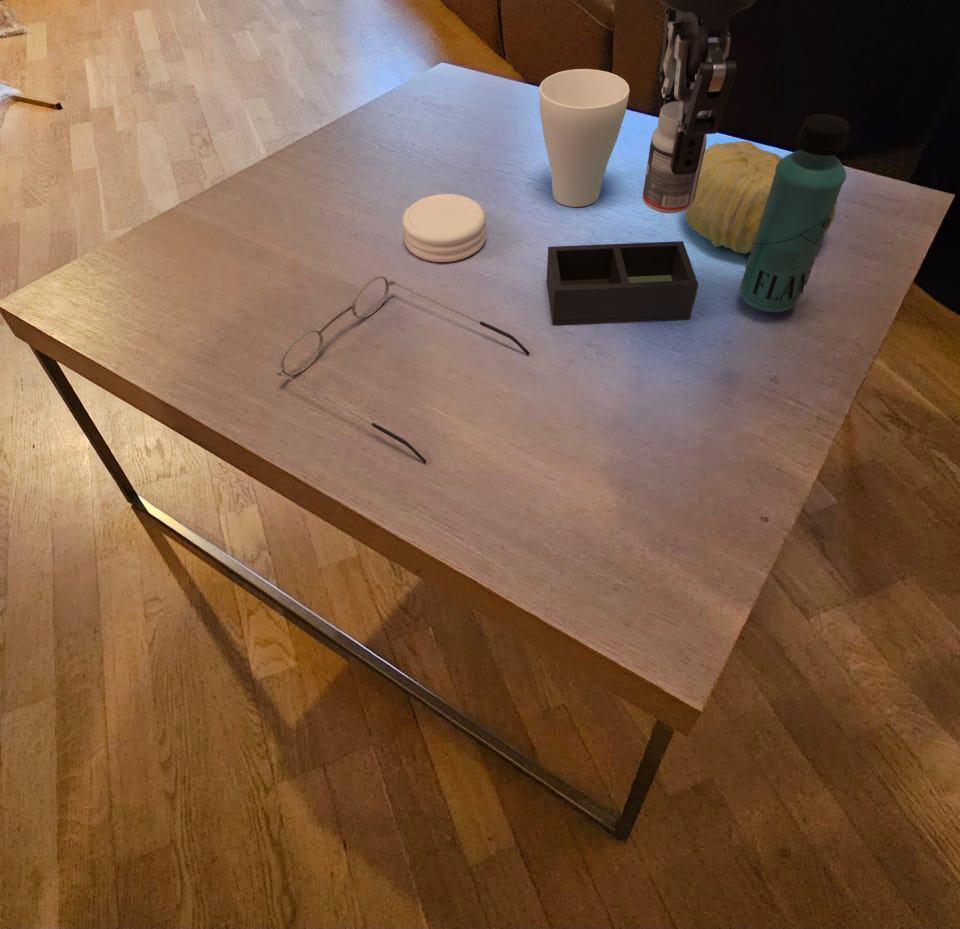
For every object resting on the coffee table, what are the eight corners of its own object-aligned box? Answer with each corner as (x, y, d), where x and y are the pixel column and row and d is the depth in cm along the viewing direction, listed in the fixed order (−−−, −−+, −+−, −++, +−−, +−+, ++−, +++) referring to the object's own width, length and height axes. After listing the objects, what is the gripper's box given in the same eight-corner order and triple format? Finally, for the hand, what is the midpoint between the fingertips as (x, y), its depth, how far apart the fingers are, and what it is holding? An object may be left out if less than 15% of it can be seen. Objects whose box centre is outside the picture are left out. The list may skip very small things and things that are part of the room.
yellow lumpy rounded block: (790, 299, 83) (845, 215, 88) (812, 228, 74) (872, 138, 78) (659, 251, 90) (716, 175, 94) (664, 180, 80) (727, 99, 85)
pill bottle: (658, 182, 70) (673, 92, 63) (702, 198, 68) (723, 107, 61) (632, 204, 67) (645, 113, 61) (677, 220, 65) (695, 128, 59)
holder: (546, 281, 83) (548, 246, 79) (675, 276, 83) (683, 240, 79) (552, 325, 78) (554, 290, 74) (690, 319, 78) (698, 284, 74)
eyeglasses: (390, 293, 82) (386, 263, 79) (530, 358, 75) (532, 328, 72) (277, 385, 73) (267, 356, 70) (424, 469, 66) (421, 441, 63)
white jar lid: (437, 274, 84) (435, 248, 81) (388, 238, 89) (385, 212, 86) (502, 241, 88) (502, 215, 85) (452, 208, 93) (450, 183, 90)
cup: (614, 219, 90) (628, 110, 80) (531, 214, 91) (534, 106, 81) (617, 176, 97) (631, 70, 86) (539, 172, 98) (543, 67, 88)
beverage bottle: (733, 320, 77) (789, 136, 62) (735, 283, 81) (788, 102, 66) (797, 328, 76) (871, 142, 61) (795, 290, 80) (863, 107, 65)
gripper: (805, -46, 46) (739, 198, 60) (745, -106, 56) (700, 117, 69) (688, -41, 46) (648, 202, 60) (648, -101, 56) (621, 121, 69)
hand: (676, 155), depth 64 cm, fingers closed on pill bottle, 4 cm apart
